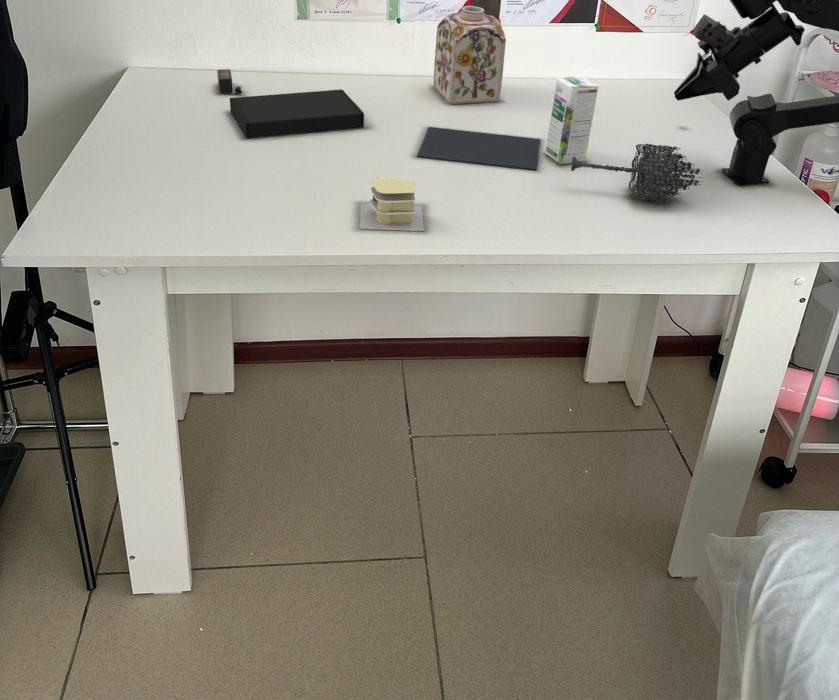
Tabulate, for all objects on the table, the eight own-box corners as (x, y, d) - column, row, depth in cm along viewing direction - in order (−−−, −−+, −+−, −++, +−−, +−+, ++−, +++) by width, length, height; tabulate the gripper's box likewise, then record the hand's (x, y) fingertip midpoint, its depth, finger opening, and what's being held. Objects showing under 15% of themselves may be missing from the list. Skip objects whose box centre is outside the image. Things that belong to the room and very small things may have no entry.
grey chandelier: (568, 178, 162) (576, 127, 157) (693, 191, 160) (705, 141, 155) (567, 200, 154) (576, 148, 149) (698, 214, 152) (711, 162, 147)
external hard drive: (230, 112, 180) (229, 97, 178) (342, 103, 187) (342, 88, 186) (246, 138, 169) (245, 123, 167) (364, 128, 177) (364, 113, 175)
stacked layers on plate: (421, 206, 149) (423, 175, 146) (423, 231, 142) (425, 199, 139) (361, 204, 149) (361, 172, 146) (359, 229, 141) (360, 196, 138)
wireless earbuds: (219, 96, 187) (218, 80, 185) (218, 84, 192) (217, 69, 191) (242, 95, 188) (241, 80, 186) (240, 84, 193) (239, 69, 192)
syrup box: (543, 153, 171) (554, 77, 162) (570, 150, 173) (582, 74, 165) (559, 165, 167) (571, 87, 158) (586, 161, 169) (599, 84, 161)
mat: (540, 140, 176) (540, 139, 176) (536, 170, 164) (536, 169, 164) (428, 128, 178) (428, 126, 178) (416, 157, 166) (416, 155, 166)
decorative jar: (432, 86, 199) (437, 1, 189) (481, 84, 202) (489, 0, 192) (449, 105, 190) (456, 17, 179) (501, 102, 193) (510, 15, 183)
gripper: (723, -12, 158) (646, 46, 165) (737, 15, 143) (652, 77, 150) (757, 39, 162) (680, 93, 169) (774, 70, 146) (689, 128, 154)
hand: (675, 96), depth 160 cm, fingers closed
